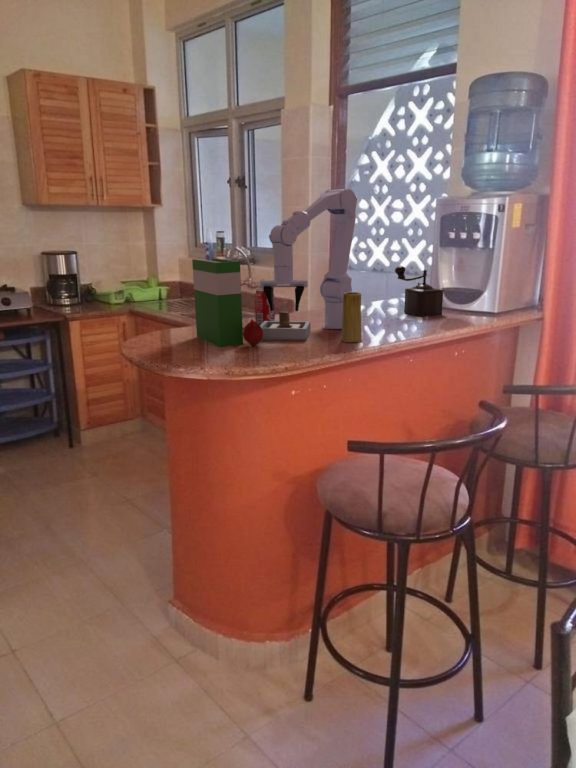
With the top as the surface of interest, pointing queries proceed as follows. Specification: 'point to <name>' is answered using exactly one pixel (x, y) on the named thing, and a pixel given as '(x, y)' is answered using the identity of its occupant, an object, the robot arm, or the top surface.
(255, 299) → the soda can
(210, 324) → the green cereal box
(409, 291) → the manual coffee grinder
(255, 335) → the onion
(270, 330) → the box
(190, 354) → the top surface
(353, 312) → the vase
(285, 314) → the peg
